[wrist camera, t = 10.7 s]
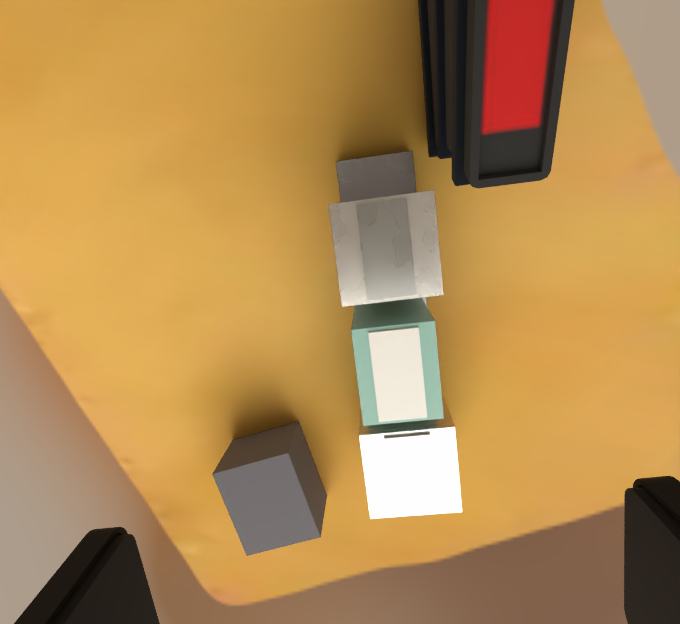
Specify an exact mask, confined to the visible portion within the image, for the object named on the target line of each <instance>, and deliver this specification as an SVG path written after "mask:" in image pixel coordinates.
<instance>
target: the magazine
mask: <svg viewBox="0 0 680 624" xmlns="http://www.w3.org/2000/svg"><path fill="white" fill-rule="evenodd" d="M574 1H575V0H418V7H419V22H420V37H421V51H422V66H423V80H424V95H425V109H426V124H427V138H428V153H429V157H435V156H438V157H439V158H440V159H444V158H451V157H452V180H453V182H454V184H455V186H460V185H468V184H471V186H472V187H475V188H484V187H492V186H500V185H508V184H516V183H524V182H531V181H539V180H542V179H544V178H546V177H548V175H549V173H550V171H551V165H552V158H553V151H554V144H555V137H556V130H557V123H558V116H559V108H560V101H561V94H562V87H563V80H564V73H565V66H566V58H567V51H568V44H569V37H570V30H571V23H572V16H573V8H574Z"/></svg>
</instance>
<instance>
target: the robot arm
mask: <svg viewBox="0 0 680 624" xmlns="http://www.w3.org/2000/svg"><path fill="white" fill-rule="evenodd" d="M624 542H625V543H624V544H625V546H624V547H625V548H624V549H625V550H624V554H625V555H624V557H625V558H624V609H625V614H626V618H627V621H628V624H680V482H679V481H678V480H677V479H675V478H674V477H671V476H663V477H652V478H641V479H637V480H635V482H634V484H633V488H628V489H626V491H625V540H624ZM14 624H160V623H159V620H158V616H157V613H156V610H155V606H154V603H153V599H152V596H151V592H150V589H149V585H148V582H147V578H146V575H145V572H144V568H143V564H142V561H141V557H140V554H139V551H138V547H137V544H136V540H135V538H134V536H133V535H131V534H127V531H126V530H125V529H124V528H122V527H114V528H104V529H94V530H91V531H90V532H89V533H87V534H86V536H85V537H84V538H83V539H82V540H81V542H80V543H79V544H78V545H77V547H76V548H75V549H74V550H73V552H72V553H71V554H70V555H69V557H68V558H67V559H66V560H65V561H64V563H63V564H62V565H61V566H60V568H59V569H58V570H57V571H56V573H55V574H54V575H53V576H52V577H51V579H50V580H49V581H48V583H47V584H46V585H45V586H44V587H43V589H42V590H41V591H40V592H39V594H38V595H37V596H36V597H35V598H34V600H33V601H32V602H31V603H30V605H29V606H28V607H27V608H26V610H25V611H24V612H23V614H22V615H21V616H20V617H19V618H18V620H17V621H16V622H15V623H14Z"/></svg>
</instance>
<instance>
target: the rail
mask: <svg viewBox="0 0 680 624" xmlns="http://www.w3.org/2000/svg"><path fill="white" fill-rule="evenodd" d="M336 168H337V175H338V183H339V191H340V199H341V203H336V204H329V205H328V206H329V213H330V221H331V228H332V236H333V243H334V251H335V258H336V266H337V273H338V281H339V288H340V296H341V303H342V307H344V306H352V305H354V309H355V305H361V304H370V303H378V302H387V301H396V300H404V299H413V298H421V297H422V299H423V301H424V303H425V304H426V306H427V299H426V297H430V296H439V295H443V285H442V274H441V262H440V251H439V239H438V228H437V216H436V205H435V193H434V190H431V191H424V192H417V193H416V183H415V173H414V162H413V152H412V151H407V152H400V153H393V154H386V155H379V156H372V157H365V158H358V159H351V160H344V161H337V162H336ZM441 394H442V392H441ZM442 405H443V416H444V419H433V420H422V421H411V422H400V423H389V424H378V425H367V426H363V419H362V411H361V409H360V428H359V439H360V446H361V454H362V461H363V469H364V476H365V484H366V491H367V499H368V506H369V514H370V519H376V518H389V517H403V516H416V515H430V514H443V513H456V512H462V503H461V491H460V480H459V468H458V457H457V446H456V434H455V426H454V423H453V421H452V418H451V416H450V413H449V410H448V408H447V405H446V403H445V400H444V397H443V395H442Z"/></svg>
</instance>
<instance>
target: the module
mask: <svg viewBox="0 0 680 624" xmlns="http://www.w3.org/2000/svg"><path fill="white" fill-rule="evenodd" d="M351 333H352V341H353V349H354V357H355V364H356V372H357V380H358V388H359V396H360V404H361V411H362V419H363V426H367V425H378V424H389V423H400V422H411V421H422V420H433V419H444V416H443V405H442V394H441V382H440V371H439V360H438V349H437V337H436V326H435V320H434V318H433V316H432V315H431V313H430V311H429V309H428V308H427V306H426V304H425V303H424V301H423V299H422V297H421V298H413V299H404V300H396V301H387V302H378V303H370V304H361V305H355V309H354V315H353V321H352V328H351Z"/></svg>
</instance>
